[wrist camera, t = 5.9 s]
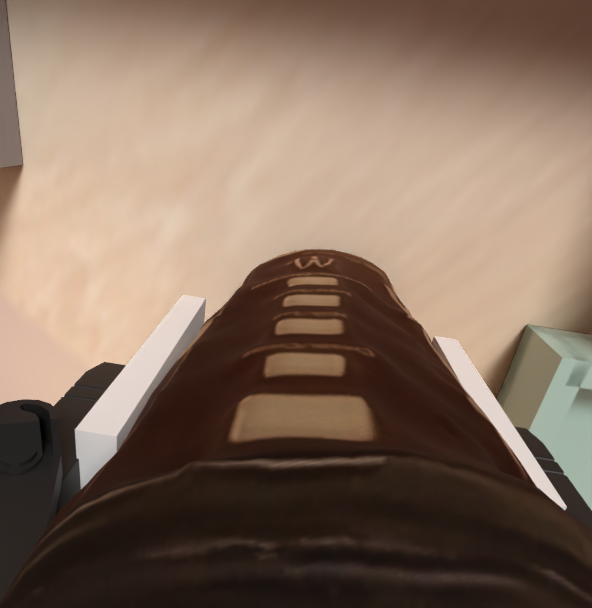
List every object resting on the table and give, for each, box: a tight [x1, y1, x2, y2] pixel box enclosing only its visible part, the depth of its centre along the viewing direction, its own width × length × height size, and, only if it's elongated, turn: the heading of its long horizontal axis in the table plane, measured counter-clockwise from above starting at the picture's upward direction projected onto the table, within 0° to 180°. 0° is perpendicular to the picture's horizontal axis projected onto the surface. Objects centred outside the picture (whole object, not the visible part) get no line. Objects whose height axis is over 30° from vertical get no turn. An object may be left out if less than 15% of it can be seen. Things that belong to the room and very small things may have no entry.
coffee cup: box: [0, 249, 592, 608], centre depth 10 cm, size 9×8×13 cm
